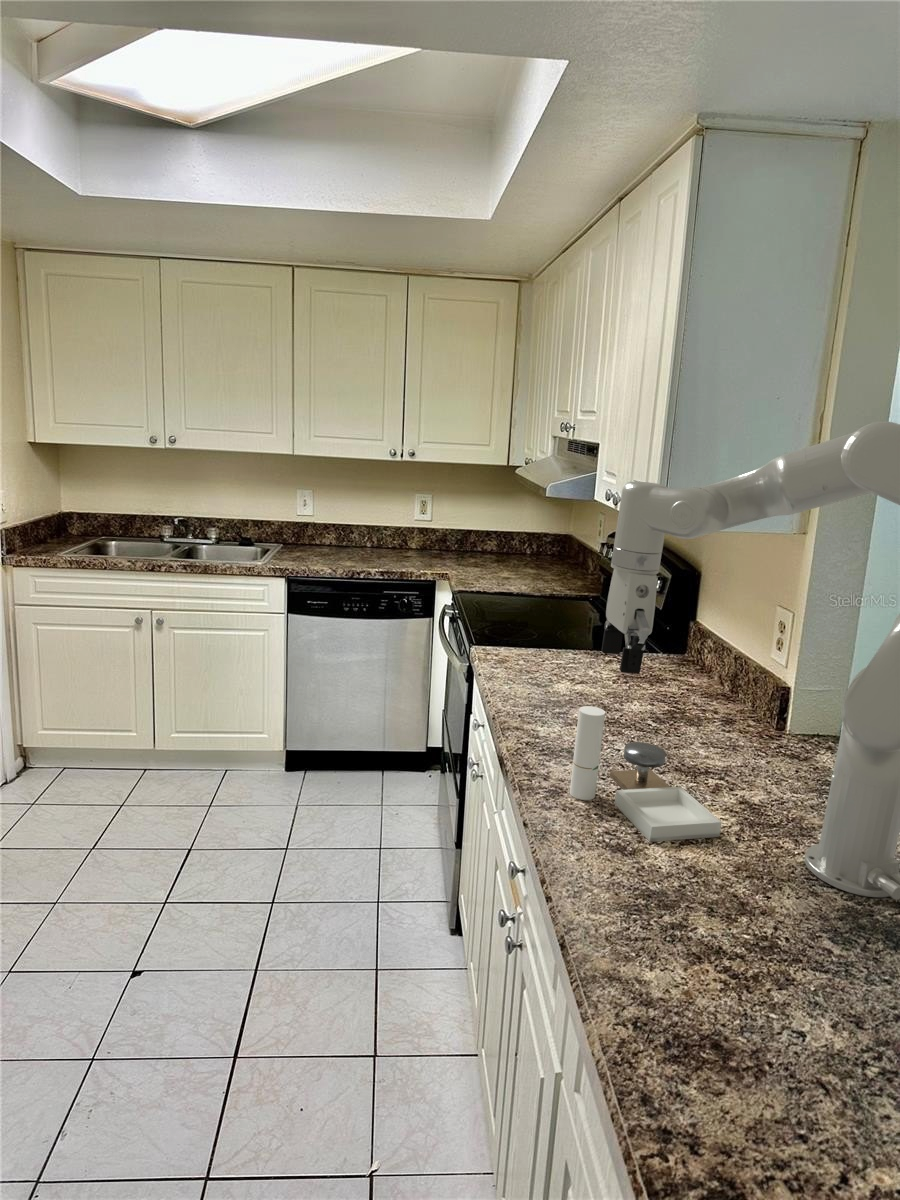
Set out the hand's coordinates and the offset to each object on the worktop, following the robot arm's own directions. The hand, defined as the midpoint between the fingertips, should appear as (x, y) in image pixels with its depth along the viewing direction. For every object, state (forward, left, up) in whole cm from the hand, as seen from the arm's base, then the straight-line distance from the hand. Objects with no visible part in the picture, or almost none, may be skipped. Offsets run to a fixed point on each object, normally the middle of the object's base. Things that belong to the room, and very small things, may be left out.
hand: (619, 662), depth 127 cm
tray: (-10, -6, -23) cm, 26 cm away
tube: (0, +4, -24) cm, 24 cm away
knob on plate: (+2, -8, -23) cm, 25 cm away
